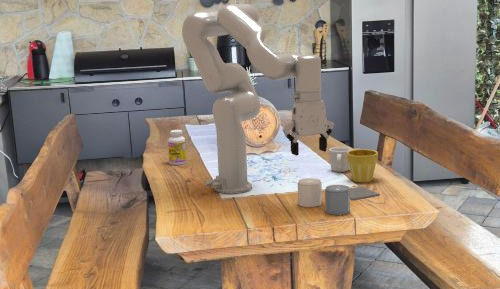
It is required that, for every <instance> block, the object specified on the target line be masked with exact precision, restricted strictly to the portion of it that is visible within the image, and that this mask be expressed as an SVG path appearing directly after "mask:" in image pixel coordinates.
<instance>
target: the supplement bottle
mask: <svg viewBox="0 0 500 289" xmlns="http://www.w3.org/2000/svg"><path fill="white" fill-rule="evenodd" d="M169 134H170V137H169V138H168V139H167V143H168V145H167V146H168V147H167V148H168V162H169V164H170V165H173V166H181V165H185V164H186V163H187V147H186V138H185V137H184V136H183V130H182V129H172V130H170V132H169Z"/></svg>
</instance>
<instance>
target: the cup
mask: <svg viewBox="0 0 500 289" xmlns="http://www.w3.org/2000/svg"><path fill="white" fill-rule="evenodd" d="M351 150H352V148H351V147H349V146H334V147H330V148H329V149H328V152H329V153H328V154H329V163H330V168H331V170H332V171H333V172H335V173H336V172H337V173H345V172H347V171H349V170H350V165H349V163H348V162H347V152H348V151H351Z"/></svg>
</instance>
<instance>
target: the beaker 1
mask: <svg viewBox="0 0 500 289" xmlns="http://www.w3.org/2000/svg"><path fill="white" fill-rule="evenodd" d="M322 183H323V182H322V181H321V179H319V178H314V177H306V178H301V179H298V182H297V204H298V205H299V206H301V207H303V208H305V207H306V208H315V207H320V206H321V205H322V203H323V200H322V199H323V196H322V195H323V193H322V192H323V191H322V189H323V188H322Z"/></svg>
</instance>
